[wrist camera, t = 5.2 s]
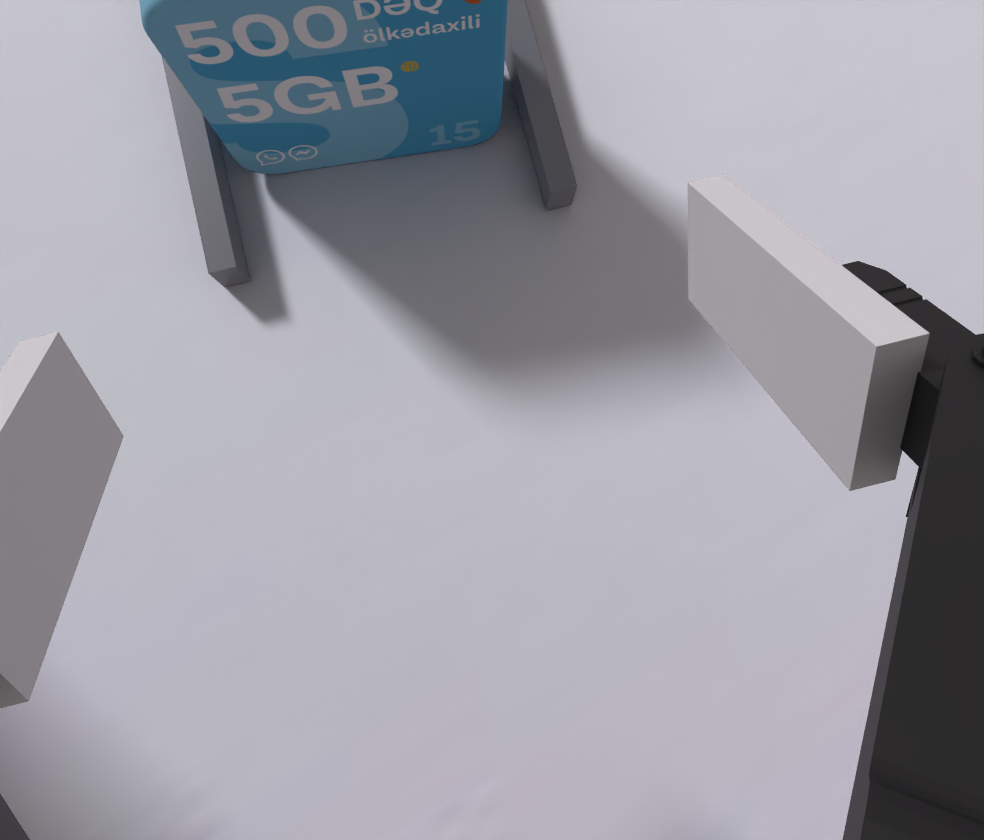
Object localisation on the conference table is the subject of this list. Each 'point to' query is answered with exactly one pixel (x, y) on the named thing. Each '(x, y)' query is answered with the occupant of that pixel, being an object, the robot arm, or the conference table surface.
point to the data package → (336, 75)
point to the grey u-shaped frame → (214, 186)
